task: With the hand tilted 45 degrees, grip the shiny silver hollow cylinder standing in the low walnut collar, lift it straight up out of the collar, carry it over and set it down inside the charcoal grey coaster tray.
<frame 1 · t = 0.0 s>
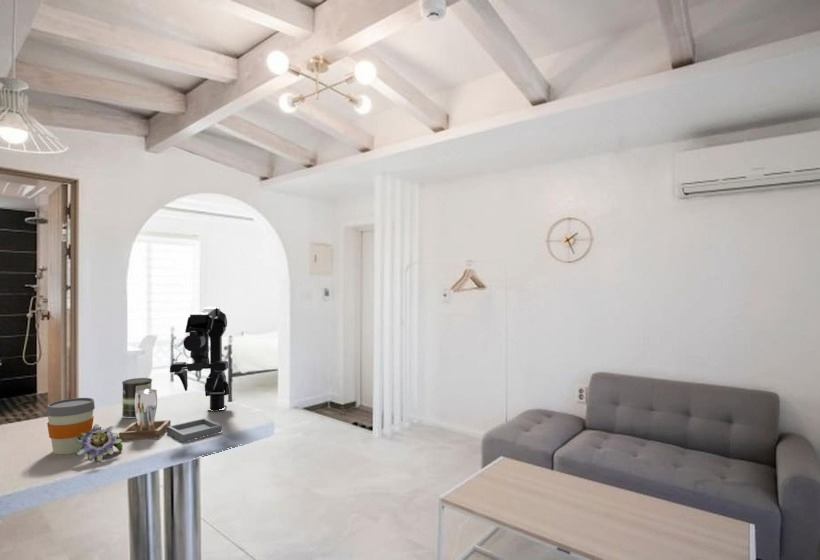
hand: (199, 390, 164), 15 cm above the table, tool pointing down, fingers open, 9 cm apart
reusable coffee cup: (70, 449, 146), on the table
coffee can: (137, 415, 183), on the table
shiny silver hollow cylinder: (145, 433, 161), resting in walnut collar
walnut collar: (145, 433, 161), on the table
coaster tray: (194, 433, 161), on the table
passion flower: (98, 457, 139), on the table
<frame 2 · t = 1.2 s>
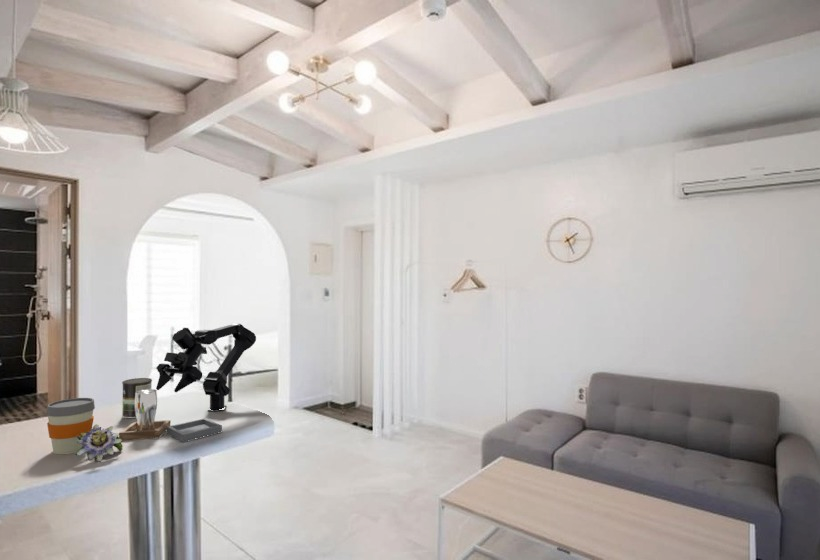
hand: (166, 390, 168), 13 cm above the table, tool tilted 45°, fingers open, 9 cm apart
nothing on the table moved.
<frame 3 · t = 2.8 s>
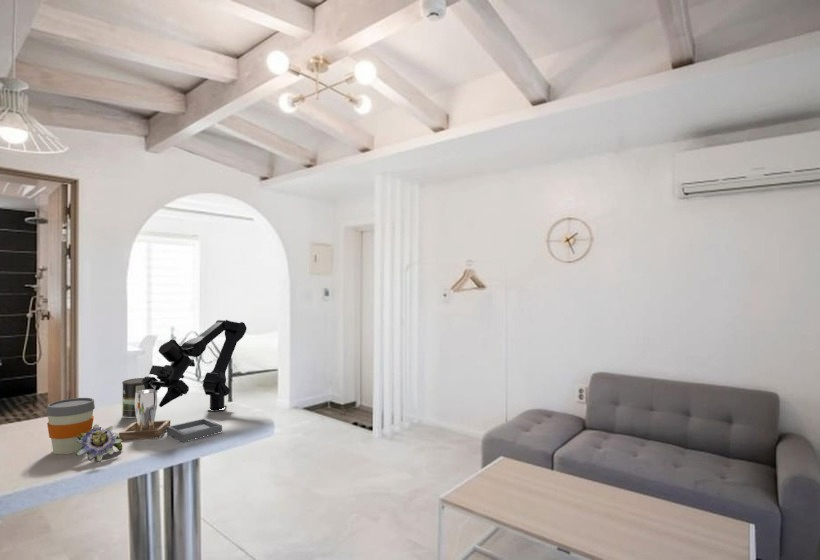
hand: (150, 405, 163), 10 cm above the table, tool tilted 45°, fingers open, 9 cm apart
nothing on the table moved.
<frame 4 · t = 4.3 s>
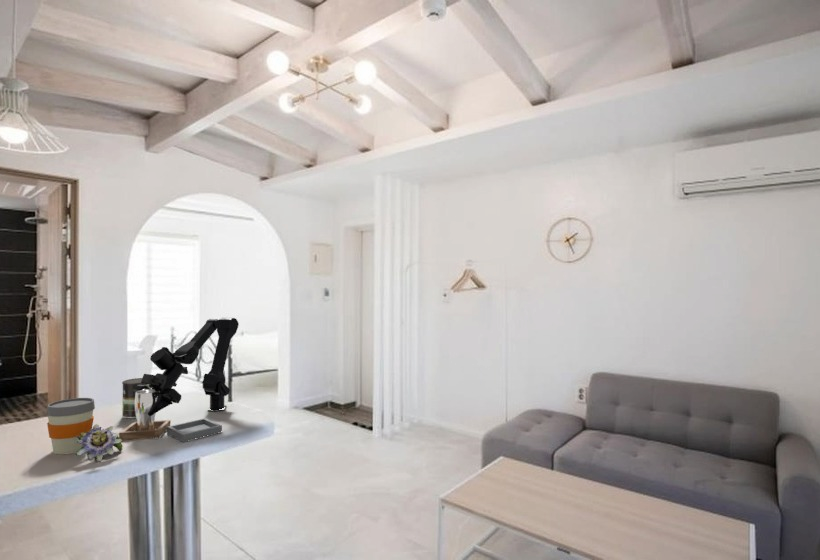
hand: (142, 414, 160), 7 cm above the table, tool tilted 45°, fingers closed on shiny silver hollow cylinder, 6 cm apart
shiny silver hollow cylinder: (145, 433, 161), resting in walnut collar, touching gripper
everything else where it was.
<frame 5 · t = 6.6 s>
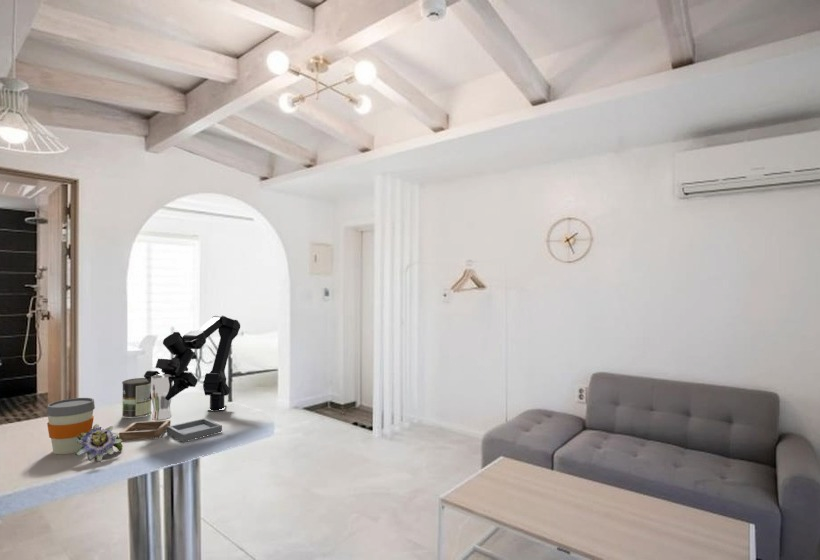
hand: (158, 399, 159), 13 cm above the table, tool tilted 45°, fingers closed on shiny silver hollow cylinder, 6 cm apart
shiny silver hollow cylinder: (161, 418, 160), point 5 cm above the table, touching gripper
everything else where it was.
when the fingers open (9 cm above the table, at t = 8.9 s): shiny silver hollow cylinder drops 1 cm, resting on coaster tray.
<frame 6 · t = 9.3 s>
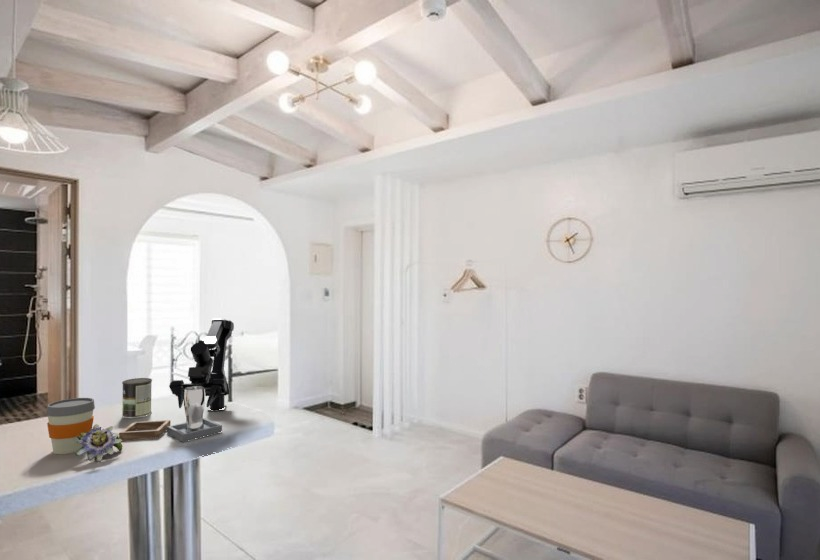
hand: (193, 407, 160), 10 cm above the table, tool tilted 45°, fingers open, 9 cm apart
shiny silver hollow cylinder: (194, 430, 162), point 1 cm above the table, touching coaster tray, gripper
everything else where it was.
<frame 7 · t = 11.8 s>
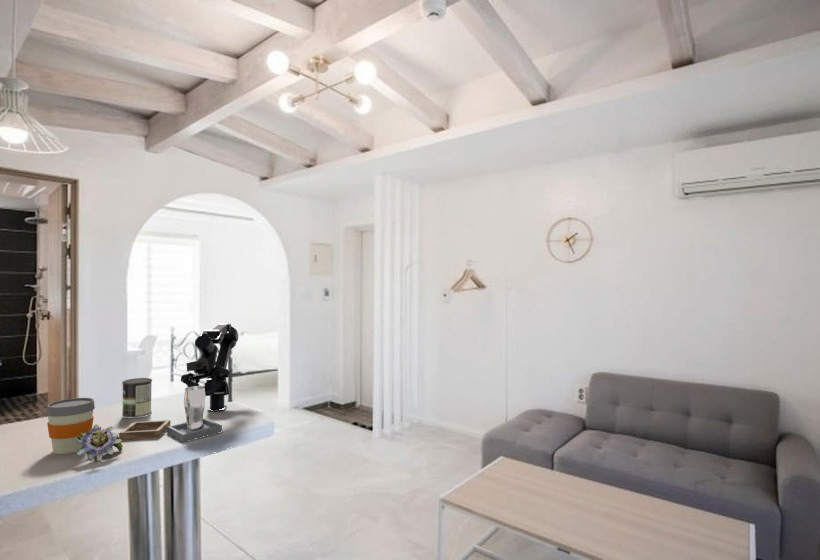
hand: (201, 397, 171), 10 cm above the table, tool tilted 30°, fingers open, 9 cm apart
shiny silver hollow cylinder: (194, 430, 162), point 1 cm above the table, touching coaster tray
everything else where it was.
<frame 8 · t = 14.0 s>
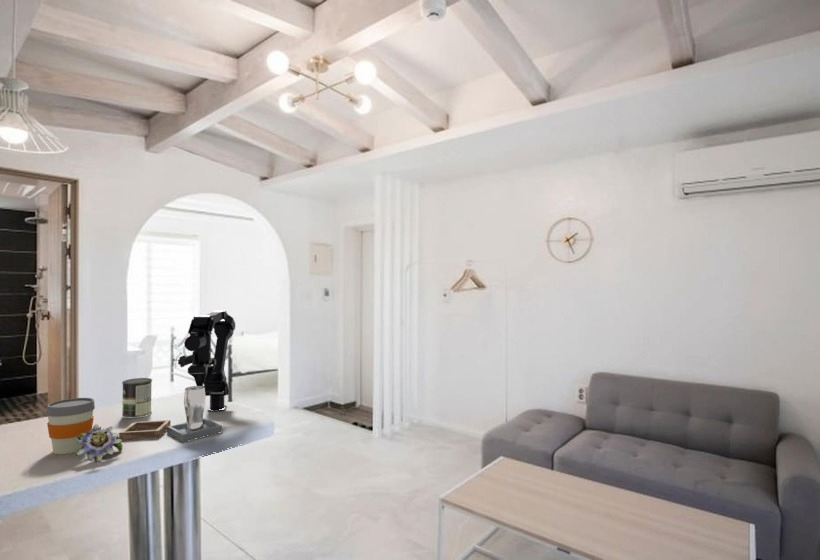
hand: (202, 387, 176), 13 cm above the table, tool pointing down, fingers open, 9 cm apart
nothing on the table moved.
at the end: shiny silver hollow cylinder 0.6 cm off-centre on the coaster tray, point 0.8 cm above the coaster tray's base; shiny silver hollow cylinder tilted 0°; the gripper is holding nothing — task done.
